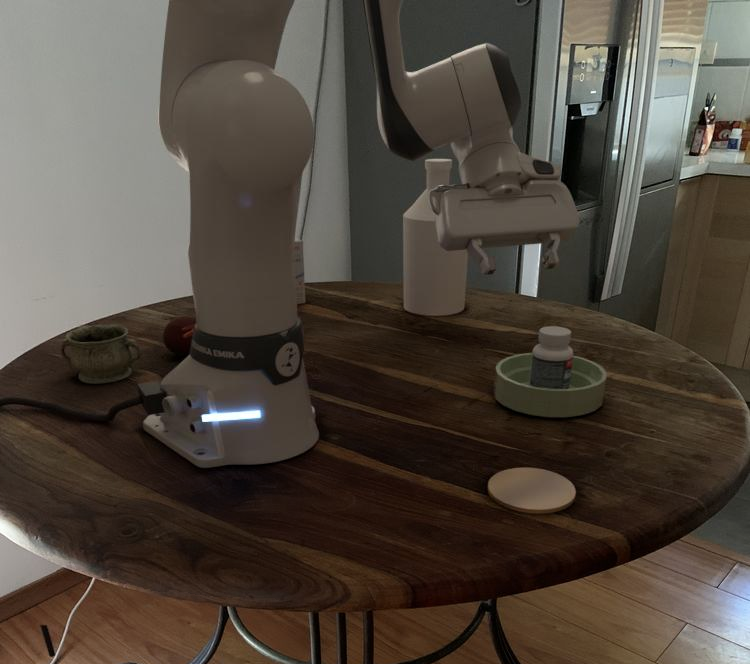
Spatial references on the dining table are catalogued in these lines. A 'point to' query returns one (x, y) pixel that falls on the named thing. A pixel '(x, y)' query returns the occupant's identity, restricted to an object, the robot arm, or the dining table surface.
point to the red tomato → (179, 335)
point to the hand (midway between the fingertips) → (521, 269)
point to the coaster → (531, 490)
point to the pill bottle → (552, 359)
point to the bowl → (545, 401)
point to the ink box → (299, 271)
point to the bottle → (431, 255)
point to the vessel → (101, 353)
